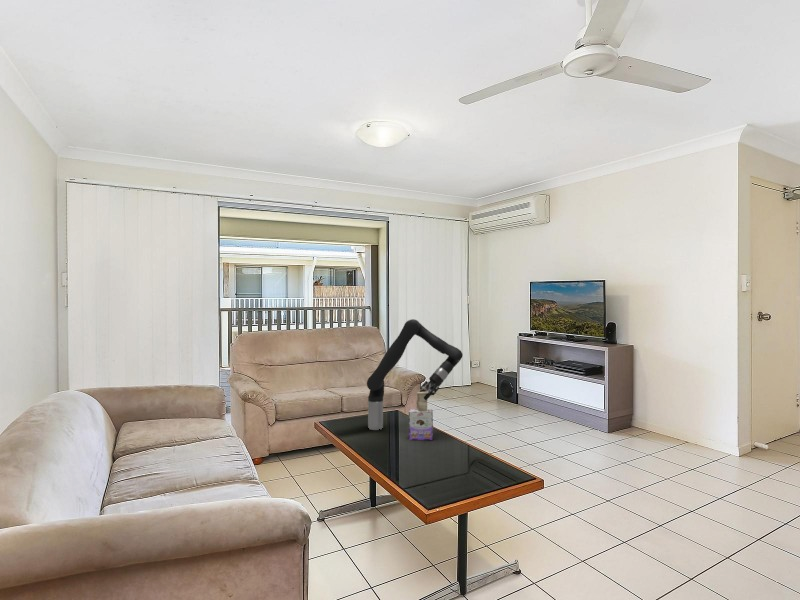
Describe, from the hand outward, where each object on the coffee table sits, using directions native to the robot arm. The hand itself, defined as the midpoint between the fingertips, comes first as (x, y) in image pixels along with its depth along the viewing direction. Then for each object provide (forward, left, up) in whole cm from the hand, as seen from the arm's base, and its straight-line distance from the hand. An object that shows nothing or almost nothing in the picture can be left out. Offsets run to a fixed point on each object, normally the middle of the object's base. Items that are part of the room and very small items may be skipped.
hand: (421, 397), depth 258 cm
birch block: (0, 0, -7) cm, 7 cm away
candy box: (0, 0, -24) cm, 24 cm away
